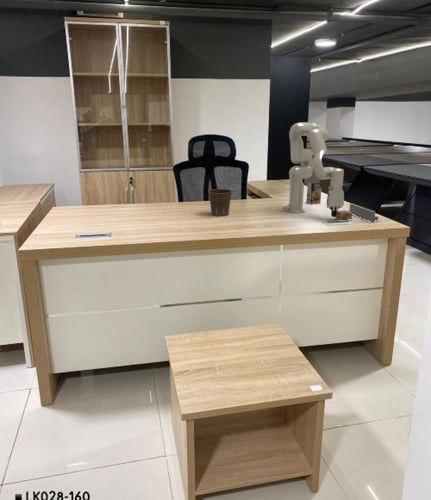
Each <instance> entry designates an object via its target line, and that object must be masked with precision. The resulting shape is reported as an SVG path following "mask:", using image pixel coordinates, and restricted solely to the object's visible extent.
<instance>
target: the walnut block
mask: <svg viewBox="0 0 431 500" xmlns="http://www.w3.org/2000/svg"><path fill="white" fill-rule="evenodd" d="M336 218H337V219H336ZM352 218H353V215H352V213H351V212H349V210H338V211H337V215H336V217H335V219H336V220H338V219H339V220H346V221H349V220H348V219H352ZM339 220H338V221H339ZM352 220H353V219H352Z"/></svg>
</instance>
